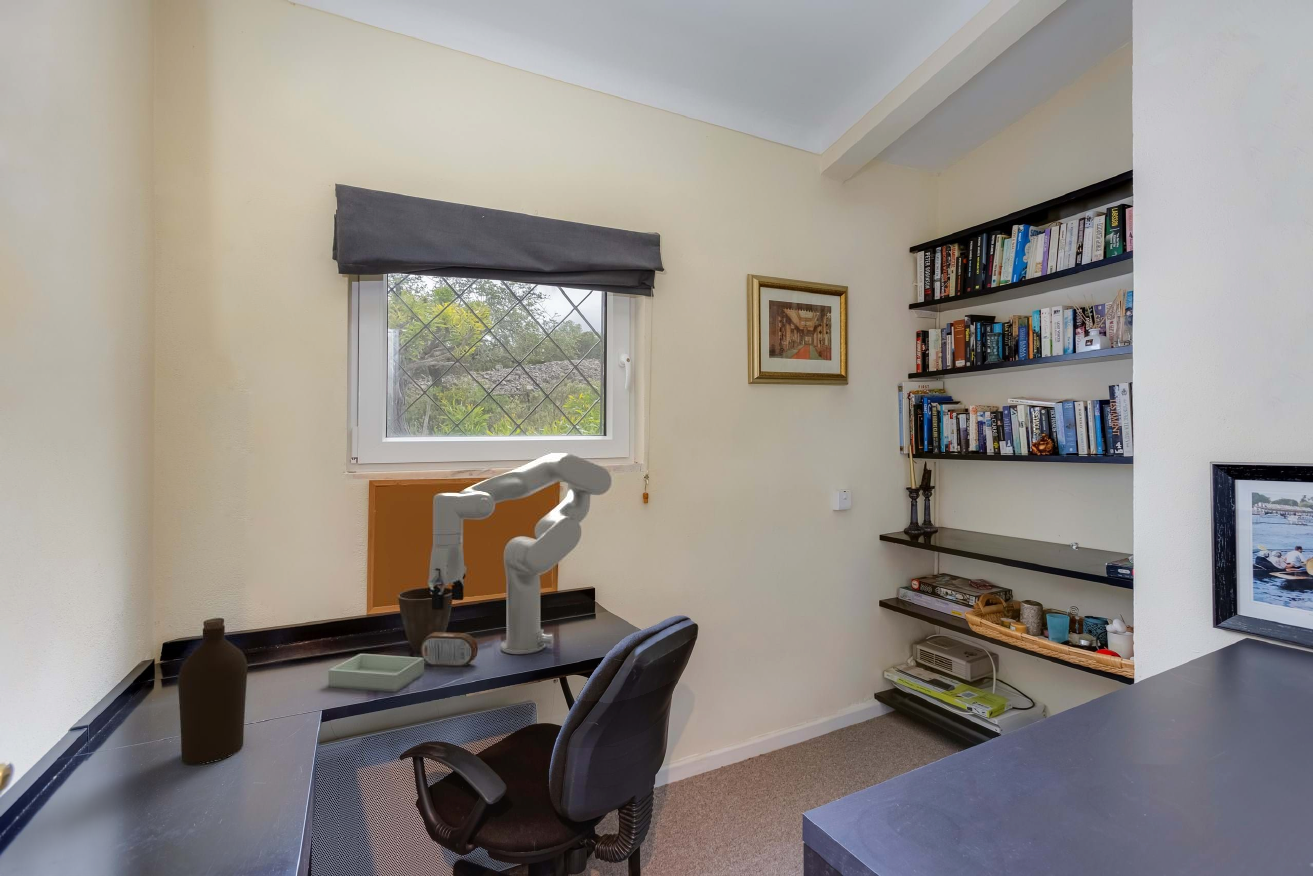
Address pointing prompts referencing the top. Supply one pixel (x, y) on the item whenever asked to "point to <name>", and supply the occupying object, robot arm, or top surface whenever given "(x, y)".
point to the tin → (448, 649)
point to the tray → (376, 672)
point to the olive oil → (212, 697)
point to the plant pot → (423, 614)
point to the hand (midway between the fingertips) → (448, 604)
